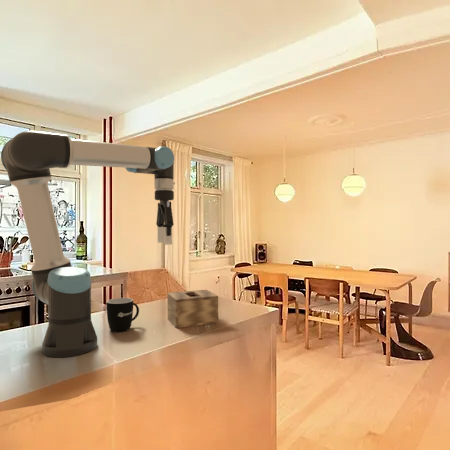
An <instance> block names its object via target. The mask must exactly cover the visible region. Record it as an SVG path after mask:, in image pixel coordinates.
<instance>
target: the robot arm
mask: <svg viewBox="0 0 450 450" xmlns="http://www.w3.org/2000/svg"><path fill="white" fill-rule="evenodd" d="M0 159H1V163H2V166H3V168H4V169H5V170H6V172H7V175H8V180H9V184H11V185H12V186H13V187H15V188H16V189H17V193H18V197H19V201H20V205H21V210H22V214H23V215H22V216H23V218H24V223H25V226H26V231H27V235H28V238H29V239H28V240H29V244H30V246H31V247H30V248H31V253H32V256H33V259H34V264H33V265H32V266H31V268H30V270H31V274H32V285H31V286H32V287H31V288H32V292H33V294H34V296H35V297H36V298H37V299H38V300H39V301H40V302H42V303H44V304H46V305H47V307H48V309H47V312H48V313H47V314H48V317H47V318H48V326H47V328H46V331H45V335H44V337H43V340H42V343H41V353H42V354H43V355H44V356H46V357H51V358H70V357H74V356H79V355H84V354H86V353H89V352H91V351H93V350H94V349H96V348H97V347H98V335H97V333H96V330H95V328H94V327H95V326H94V324H93V322H92V284H93V283H92V279H91V273H90V271H89V270H88V269H86V268H82V267H77V266H72V263H71V259H70V258H68V257H66V256H65V254H64V251H63V246H62V242H61V238H60V233H59V229H58V224H57V219H56V216H55V211H54V207H53V202H52V199H51V198H52V197H51V193H50V188H49V182H50V180H52V174H51V170H50V169H55V168H56V169H57V168H58V169H59V168H61V169H62V168H64V169H67V168H69V167H70V166H74V165H75V166H89V167H106V168H107V167H108V168H109V167H110V168H124V169H125V170H126V171H127V172H129V173H133V174H146V175H154V177H153V178H154V190H155V191H154V200H155V201H159V202H158V203H157V211H156V212H157V213H156V214H157V215H156V223H155V224H156V226H157V243H164V245H165V246H167V245H169V246H170V245H173V226H174V218H173V216H174V215H173V209H172V202H171V201H174V199H175V197H174V195H175V193H174V190H175V189H174V185H175V183H176V182H174V175H175V174H174V172H175V171H174V169H175V167H174V166H175V165H174V164H175V154H174V152H173V150H172V148H170V147H168V146H165V145H164V146H158V147H152V146H151V147H150V146H140V145H134V144H133V145H132V144H131V145H130V144H124V143H112V142H106V141H105V142H103V141H96V140H95V141H93V140H83V139H76V138H75V139H74V138H70V136H68V134H61V133H54V132H53V133H52V132H47V131H38V130H26V131H22V132H19V133H17V134H15V136H13V137H12V138H11V139H9V140H8V141H7V142H5V144H4V145H3V147H2V149H1V154H0Z"/></svg>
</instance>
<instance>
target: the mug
mask: <svg viewBox="0 0 450 450" xmlns="http://www.w3.org/2000/svg"><path fill="white" fill-rule="evenodd" d="M105 304H106V316H107V317H106V318H107V323H108V327H109V328H108V329H109V330H110V331H111V332H112V333H124V332H127V331H129V330H130V328H131V326H132V322H133V321H135V320H136V319H137V317H138V316H139V315H140V314H139V313H140V308H139V306H138V304H137V303H136V302H134V299H133V298H130V297H116V298H111V299H108V300H106V303H105ZM134 307H135V310H136V312H135V315H134V314H133V313H134ZM133 315H134V316H133Z"/></svg>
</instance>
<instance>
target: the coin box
mask: <svg viewBox="0 0 450 450" xmlns="http://www.w3.org/2000/svg"><path fill="white" fill-rule="evenodd" d="M166 295H167V296H166V299H167V305H166V306H167V308H166V309H167V311H166V313H167V320H168V321H169V322H170V323H171V324H172V325H173V326H174V328H176V329H177V328H178V329H179V328H187V327H195V326H204V325H203V324H205V325H212V324H211V323H213V324H218V323H219V295H217V294H216V293H213V292H212V291H209V290H208V289H198V290H197V289H196V290H188V291H171V292H167V293H166Z"/></svg>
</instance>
